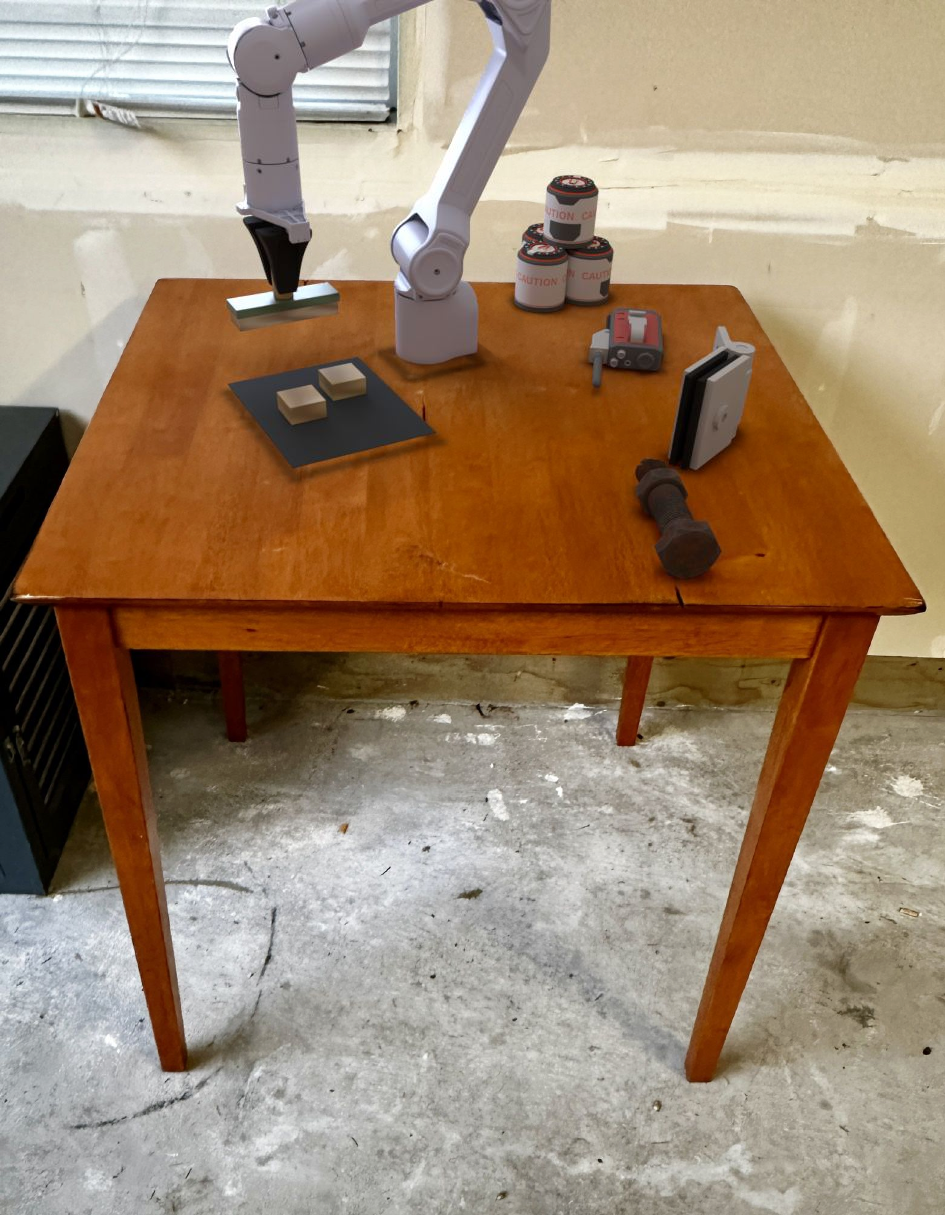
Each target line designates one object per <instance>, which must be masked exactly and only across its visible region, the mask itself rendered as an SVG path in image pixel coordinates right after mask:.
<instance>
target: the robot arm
mask: <svg viewBox="0 0 945 1215" xmlns="http://www.w3.org/2000/svg"><path fill="white" fill-rule="evenodd" d="M468 1H469V2H475V3H476V4H477V5H478V7H479V8H480V10H481V12H482V13H483V15H484V18H485V21H486V24H487V27H488V30H489V33H490V34H489V35H490V37H491V40H492V43H493V51H492V53H491V56H490V57H489V60H488V61H487V63H486V66H485V68H484V70H483V73H482V75H481V77H480V79H479V81H478V84H477V86H476V88H475V90H474V92H473V95H472V97H471V98H470V101H469V103H468V105H467V108H466V110H465V112H464V114H463V116H462V119H461V120H460V123H459V125H458V127H457V129H456V131H455V134H454V135H453V137H452V141H451V142H450V145H449V146H448V149H447V150H446V153H445V155H444V158H443V160H442V161H441V165H440V166H439V169H438V170H437V173H436V174H435V175H436V176H435V178H434V179H433V182H432V184H431V186H430V188H429V190H428V192H427V193H426V194H424V195H423V196H422V197H420V198H419V199H417V200H416V201H415V203H414V204H413V207H412V209H411V211H410V213H409V214H408V215H407V216H406V217H405V218H404V219H403V220H402V221H401V222H399V224H397V226H395V228H394V230H392V234H391V237H390V240H389V241H390V242H389V250H390V254H391V257H392V259H393V260H394V262H395V263H396V264H397V265H398V267H399V271H398V273H397V276H396V278H395V280H394V315H395V316H394V323H395V324H394V325H395V326H394V328H395V353H396V356H398V358H400V359H401V360H403V361H406V362H408V363H412V364H417V365H435V364H441V363H445V362H447V361H449V360H452V359H454V358H459V357H462V356H467V355H472V354H476V353H478V343H479V342H478V340H479V339H478V337H479V315H480V314H479V313H480V311H479V304H478V299H477V294H476V292H475V290H474V288H473V287H472V286H471V284H470V283H469V282H467V281H466V280H462V278H463V275H464V259H465V255H466V252H467V250H468V248H469V246H470V243H471V217H472V215H473V212H474V211H475V209H476V207H477V205H478V203H479V201H480V199H481V197H482V194H483V193H484V190H485V188H486V186H487V184H488V182H489V180H490V179H491V176H492V174H493V172H494V169H495V168H496V166H497V164H498V162H499V159H500V158H501V155H502V153H503V151H504V149H505V148H506V145H507V143H508V141H509V139H510V137H511V135H512V133H513V130H514V129H515V127H516V124H517V122H518V120H519V118H520V117H521V115H522V112H523V110H524V108H525V106H526V104H527V102H528V100H529V98H530V96H531V94H532V92H533V90H534V88H535V85H536V83H537V82H538V79H539V78H540V76H541V73H542V71H543V69H544V67H545V65H546V63H547V60H548V57H549V54H550V50H551V48H550V47H551V25H552V24H551V22H552V0H468ZM430 2H434V0H295V1H292V2H290V3H288V4H286V5H284V6H281V7H279V8H277V6H276V5H275V4H272V5H270V6H267V7H266V8H265V10H264V11H265V14H266V16H267V19H265V18H262V17H260V18H259V17H258V16H257V17H253V16H252V17H248V18H245V19H243V20H241V21H239V22H238V23H237V24H236V25H235V26H234V27H233V30H232V32H230V35H229V38H228V42H227V48H226V49H225V53H226V58H227V61H228V63H229V65H230V67H231V69H232V70H233V72H234V73H235V74H236V75H237V77H236V78H235V90H234V91H235V92H234V93H235V98H236V100H237V106H236V117H237V125H238V135H239V145H240V155H241V160H242V161H241V162H242V169H243V170H242V171H243V179H244V182H243V183H242V186H243V195H244V201H243V202H237V203H236V204H235V208H236V212H237V213H238V214H239V215H241V216H245V217H243V218H242V223H243V225H244V226H245V228H246V229H247V231H248V233H249V234H250V237H251V238H252V240H253V242H254V245H255V247H256V250H257V252H258V253H257V254H258V256H259V258H260V262H261V265H262V268H263V272H264V275H265V278H266V280H267V283H268V284H269V286H272V277H271V271H272V276H273V280H274V284H275V287H276V290H277V292H278V293H279V294H280V295H281V294H287V293H293V292H297V289H298V287H299V283H300V277H301V271H302V270H301V269H302V264H303V261H304V256H305V253H306V251H307V248H308V246H309V244H310V242H311V240H312V238H313V229H312V228H311V226H310V224H311V223H310V221H309V220H308V219H307V217H306V204H305V200H304V199H303V193H302V192H303V191H302V179H301V177H302V176H301V165H300V164H301V163H300V153H299V141H298V129H297V128H298V126H297V115H296V107H295V105H294V100H293V87H292V86H293V85H294V82H295V81H296V77H297V75H298V73H301V74H306V73H309V72H311V71H312V70H315V69H317V68H319V67H321V66H323V65H325V64H327V63H329V62H332V61H334V60H336V59H338V58H341V57H342V56H344V55H347V54H348V53H351V52H353V51H355V50H357V49H358V48H361V47H362V46H363V44H364V41H365V39H366V36H367V34H368V31H369V29H370V28H371V27H372V26H374V25H377V24H379V23H382V22H384V21H387V20H389V19H391V18H394V17H397V16H398V15H401V14H404V13H406V12H409V11H411V10H413V9H416V8H418V7H420V6H423V5H425V4H428V3H430Z"/></svg>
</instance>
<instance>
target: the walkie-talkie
mask: <svg viewBox="0 0 945 1215" xmlns="http://www.w3.org/2000/svg"><path fill="white" fill-rule="evenodd" d="M662 331H663V328H662V315H660V314H659V313H658V312H656V310H653V309H643V308H629V307H618V308H615V309H613V310H611V311H610V314H608V315H607V316H606V320H605V328H604V329H602V330H599V331H597V332H595V333H593V334H592V338H591V345H590V346H589V355H588V362H589V363H592V364H593V368H592V380H591V385H592V386H593V387H594V388H596V389H599V388H600V387H601V386H602V373H603V372H602V371H603V365H604V364H605V365H606V366H608V367H609V368H612V369H624V370H635V371H648V372H649V371H650V372H656V371H659V370H661V364H662V362H663V359H664V343H663V332H662Z"/></svg>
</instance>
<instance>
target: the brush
mask: <svg viewBox="0 0 945 1215" xmlns="http://www.w3.org/2000/svg"><path fill="white" fill-rule="evenodd" d="M271 277H272V287H271V288H272V291H267V292H260V293H254V294H250V295H243V296H237V297H232V298H226V300H225V302H226V308H227V309H228V311H229V314H230V315H229V316H230V321H231V322H232V324H233V325H234V326H235V327H236V329H237V330H238V331H239V332H246V331H247V332H248V331H251V330H257V329H262V328H267V327H268V328H269V327H275V326H279V325H284V324H290V323H295V322H296V323H297V322H301V321H305V320H311V319H317V318H322V317H329V316H333V315H338V314H339V302H340V300H341V295H340V294H341V293H340V292H339V291H338V290H337V289H336V288H335V287H334V286H333V285H331V284H330V283H329V282H328V281H325V282H319V283H314V284H309V285H303V286H298V289H297V292H293V293H287V294H281V295H280V294H279V293H278V292H277V290H276V287H275V284H274V280H273V276H272V271H271Z"/></svg>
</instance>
